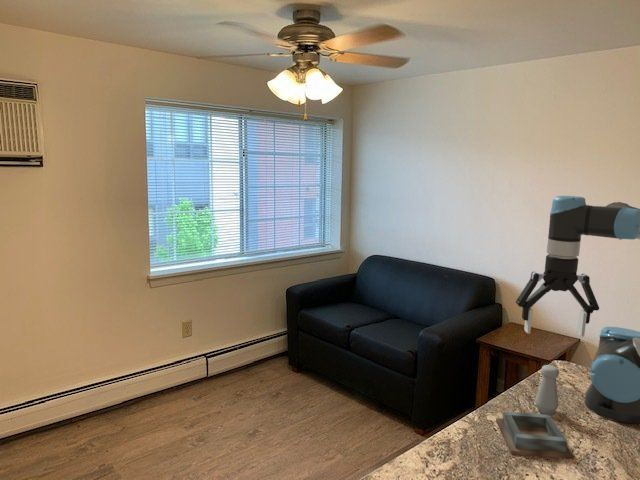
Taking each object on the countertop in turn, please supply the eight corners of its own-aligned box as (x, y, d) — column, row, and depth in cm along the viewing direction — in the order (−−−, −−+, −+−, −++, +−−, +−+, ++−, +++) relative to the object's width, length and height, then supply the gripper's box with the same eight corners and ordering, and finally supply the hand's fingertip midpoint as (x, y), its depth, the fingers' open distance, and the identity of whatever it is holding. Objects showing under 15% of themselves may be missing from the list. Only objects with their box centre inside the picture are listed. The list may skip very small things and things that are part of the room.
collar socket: (551, 425, 122) (552, 412, 122) (573, 459, 108) (575, 445, 108) (495, 420, 124) (497, 408, 123) (510, 453, 110) (512, 440, 109)
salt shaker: (560, 418, 125) (565, 373, 123) (537, 415, 127) (542, 370, 124) (553, 406, 131) (558, 363, 129) (532, 404, 132) (536, 361, 130)
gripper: (606, 254, 123) (596, 330, 127) (508, 250, 126) (501, 325, 130) (620, 260, 116) (609, 341, 120) (516, 256, 119) (509, 335, 123)
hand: (553, 333), depth 125 cm, fingers open, 13 cm apart
